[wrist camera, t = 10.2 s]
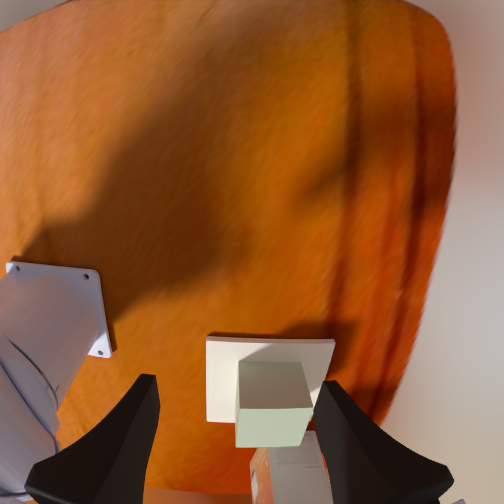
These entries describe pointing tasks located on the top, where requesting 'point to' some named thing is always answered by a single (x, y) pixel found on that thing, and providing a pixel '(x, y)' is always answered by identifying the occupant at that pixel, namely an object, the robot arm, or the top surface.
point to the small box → (290, 474)
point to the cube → (271, 404)
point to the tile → (258, 350)
